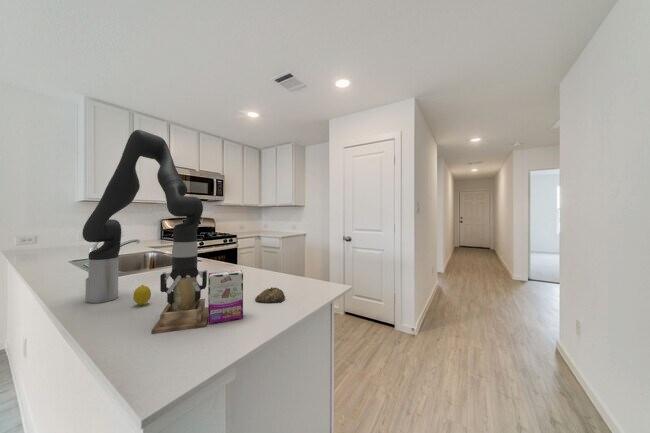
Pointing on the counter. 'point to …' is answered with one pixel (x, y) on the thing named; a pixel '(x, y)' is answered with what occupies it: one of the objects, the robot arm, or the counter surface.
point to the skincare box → (184, 295)
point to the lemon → (142, 295)
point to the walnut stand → (182, 318)
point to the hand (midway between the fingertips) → (184, 302)
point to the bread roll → (270, 296)
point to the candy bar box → (225, 296)
